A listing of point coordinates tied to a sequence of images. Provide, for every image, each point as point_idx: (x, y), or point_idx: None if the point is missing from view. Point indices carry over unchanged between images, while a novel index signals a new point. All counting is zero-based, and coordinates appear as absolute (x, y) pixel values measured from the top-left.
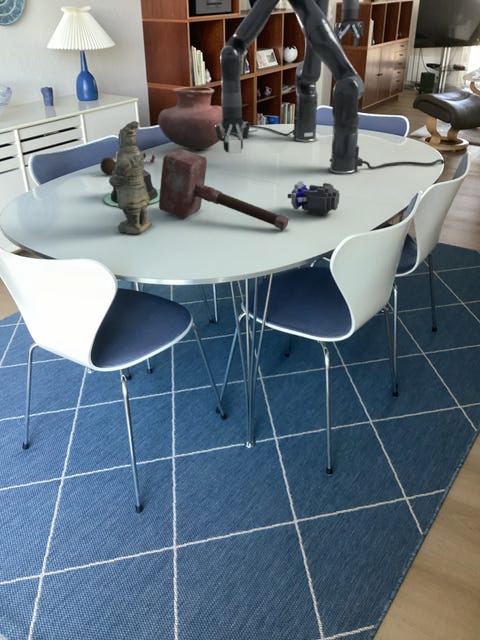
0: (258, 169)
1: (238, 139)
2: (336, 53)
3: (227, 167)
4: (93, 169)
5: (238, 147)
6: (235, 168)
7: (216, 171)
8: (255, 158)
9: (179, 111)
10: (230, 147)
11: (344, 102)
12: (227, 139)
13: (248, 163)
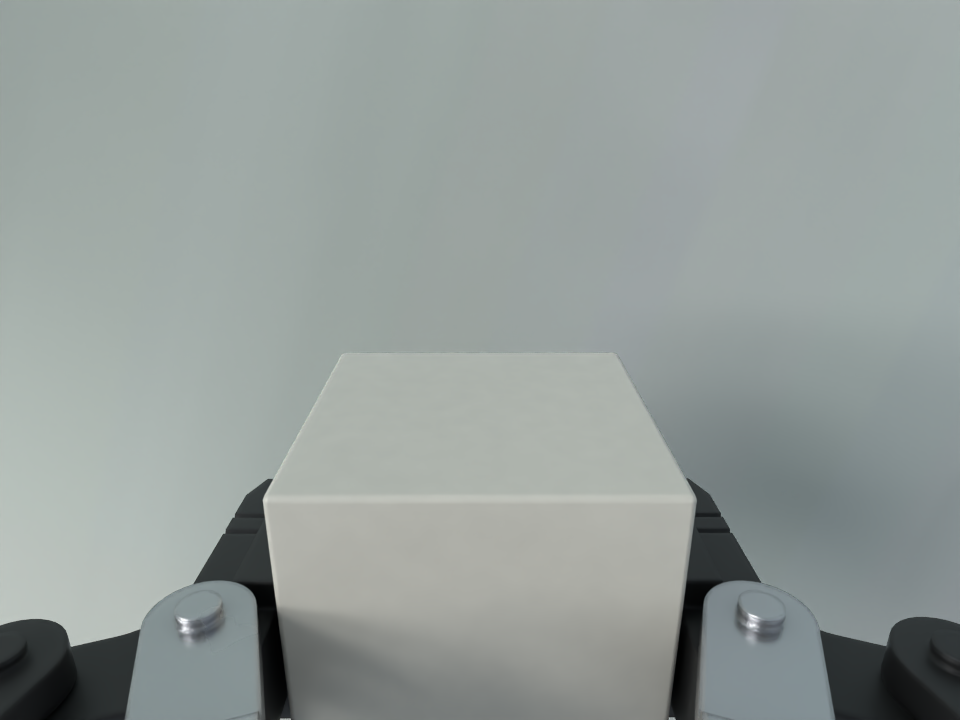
0: (144, 33)
1: (297, 661)
2: None
3: None
4: None
5: (386, 403)
6: (494, 253)
7: (836, 206)
8: (79, 619)
9: None
10: (620, 414)
11: None
12: (725, 642)
13: (228, 434)
